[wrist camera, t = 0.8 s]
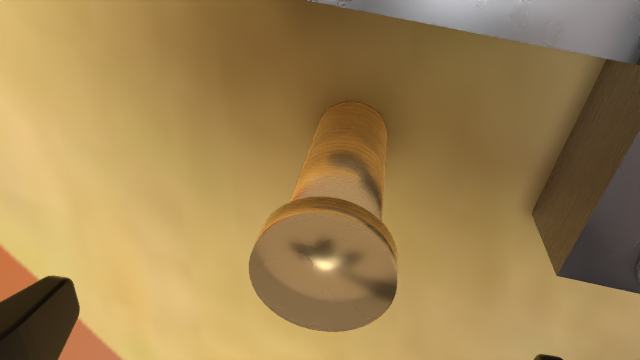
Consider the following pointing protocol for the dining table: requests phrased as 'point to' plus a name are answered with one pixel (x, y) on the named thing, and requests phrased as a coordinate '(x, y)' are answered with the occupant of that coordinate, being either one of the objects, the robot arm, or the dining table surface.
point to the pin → (332, 230)
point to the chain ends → (589, 132)
